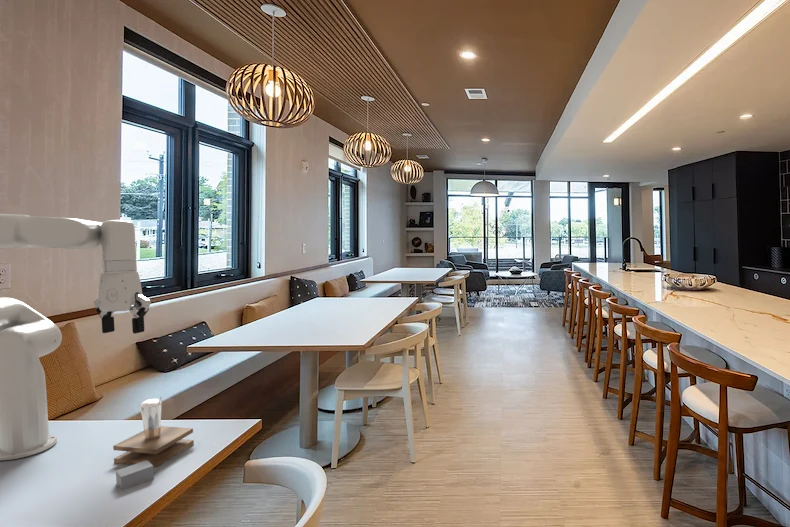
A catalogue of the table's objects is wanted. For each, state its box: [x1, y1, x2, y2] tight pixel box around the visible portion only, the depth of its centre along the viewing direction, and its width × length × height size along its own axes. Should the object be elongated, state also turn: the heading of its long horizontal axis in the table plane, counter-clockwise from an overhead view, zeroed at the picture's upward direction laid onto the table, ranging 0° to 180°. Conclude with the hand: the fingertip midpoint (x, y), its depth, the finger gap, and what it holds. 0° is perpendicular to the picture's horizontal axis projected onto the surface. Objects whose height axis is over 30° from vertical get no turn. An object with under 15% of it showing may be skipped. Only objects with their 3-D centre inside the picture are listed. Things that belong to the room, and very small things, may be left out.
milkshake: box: [139, 396, 163, 440], centre depth 105 cm, size 5×5×10 cm
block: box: [115, 460, 155, 491], centre depth 92 cm, size 4×6×3 cm, turn 136°
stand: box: [112, 425, 195, 468], centre depth 106 cm, size 12×12×4 cm
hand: (123, 332), depth 114 cm, fingers open, 9 cm apart
